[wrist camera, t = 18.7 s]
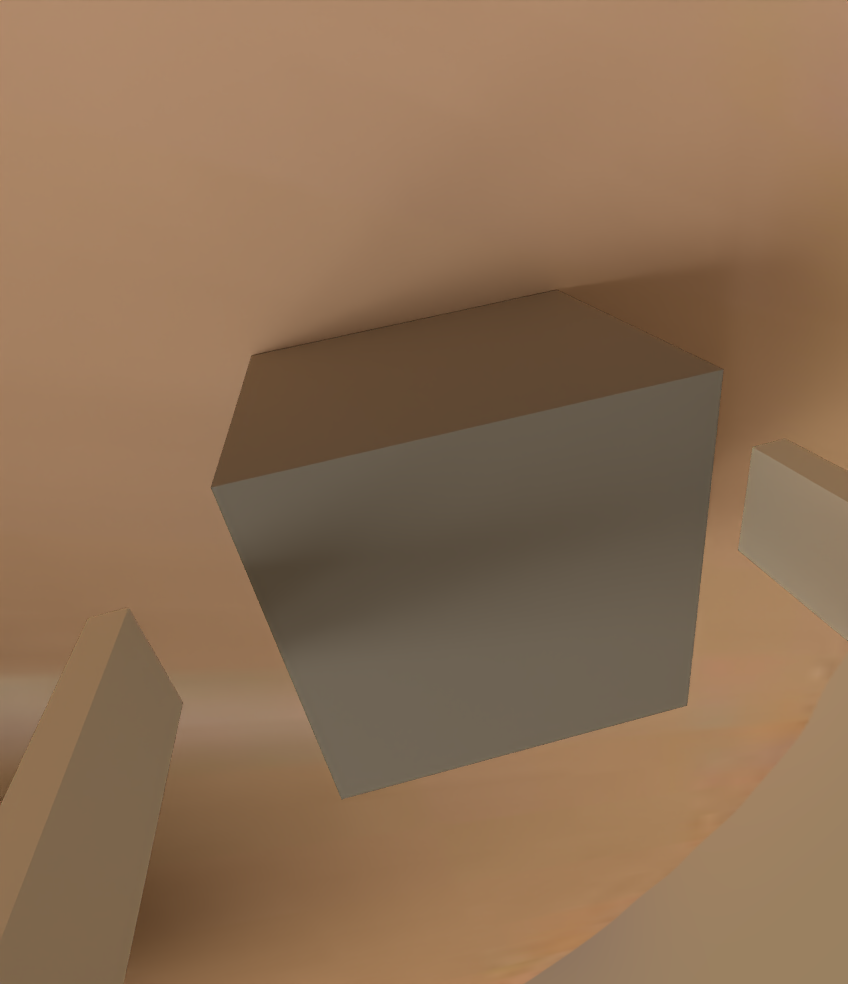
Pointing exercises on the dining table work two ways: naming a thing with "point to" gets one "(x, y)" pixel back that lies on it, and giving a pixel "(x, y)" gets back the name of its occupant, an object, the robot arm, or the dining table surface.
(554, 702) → the matte grey cube
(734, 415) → the dining table surface
